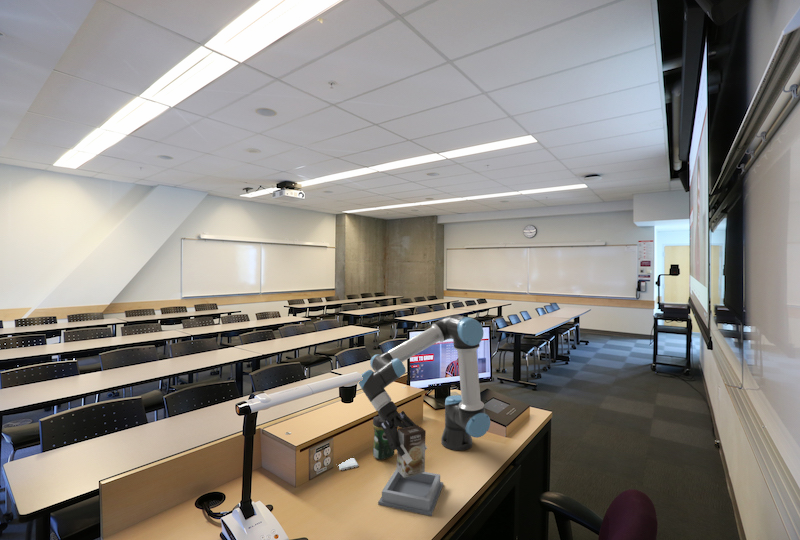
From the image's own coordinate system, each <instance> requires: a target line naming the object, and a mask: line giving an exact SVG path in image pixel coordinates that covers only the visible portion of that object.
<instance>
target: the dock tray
mask: <svg viewBox="0 0 800 540" xmlns="http://www.w3.org/2000/svg"><path fill="white" fill-rule="evenodd" d="M443 487H444V482H443V481H441V474H439V473H434V472H429V471H425V472H423V473H420V474H416V475H412V476H409V477H403V476H402V475H401V474H400V473H399V472H398V471H397V467H396V468H395V470H394V472H393V473H392V475H391V476H390V477H389V480H388V481H387V483H386V484H385V486H384V487H383V489H382V491H381V497H380V498H379V499H378V502H377V505H378V506H383V507H386V508H387V507H388V508H394V509H397V510H401V511H405V512H410V513H414V514H419V515H423V516H428V517H432V515H433V513H434V511H435V508H436V505H437V502H438V499H439V497H440V495H441V492H442V489H443Z"/></svg>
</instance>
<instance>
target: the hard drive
mask: <svg viewBox="0 0 800 540" xmlns="http://www.w3.org/2000/svg"><path fill="white" fill-rule="evenodd" d="M338 466H339V468H338V469H339V471H340V470H342V471H346V470H349V469H350V468H351V469H354V467H355V468H358V466H359V464H358V462H357V460H356V458H355V457H354V458H350V459H348V460H346V461H345V462H342V463H341V464H339V465H338ZM338 466H337V467H338ZM345 469H346V470H345ZM351 469H350V470H351Z"/></svg>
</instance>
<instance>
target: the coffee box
mask: <svg viewBox="0 0 800 540" xmlns="http://www.w3.org/2000/svg"><path fill="white" fill-rule="evenodd" d="M397 431H398V436H399V440H400V446H401V445H402V444H403V446H404V448H405V449H406V451H407V452H408V454H409V455H410V457H411V458H412V461H411V462H410V463H409V464H406V462H405V461H404V459H403V457H402V456H400V454H399V453H398V451H397V450H396V468H397V471H398V472H399V473H400V474H401V475H402V476H403V477H409V476H412V475H416V474H420V473H423V472H426V466H425V465H426V450H425V445H426V429H424V428H423V427H421V426H419V425H418V424H416V425H415V426H410V427H404V428H402V427H398V428H397Z"/></svg>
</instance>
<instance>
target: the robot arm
mask: <svg viewBox="0 0 800 540" xmlns="http://www.w3.org/2000/svg"><path fill="white" fill-rule="evenodd" d="M483 338H484V329H483V325H482V324H481V322H479V321H478V320H477V319H475V318H473V317H470V316H463V315H459V314H450V315H447V316H445V317H443V318H441V319H439V320H437V321H435V322H434V323H432V324H431V327H429V328H428V329H425V330H424V331H421V332H420V333H419V334H416V335H415V336H413V337H411V338H410V339H408V340H406V341H404V342H402V343H401V344H399V345H397V346H395V347H393V348H392V349H389V350H388V351H386V352H384V353H382V354H380V353H378V354H374V355H373V356H372V357H371V358H370V362H369V363H370V368H372V369H368V370H366V371H364V372H363V373H361V374H360V375H362V377H363V380H362V381H360V382H359V383H358V385H359V387H360V388H361V390H362V391H363V393H364V395H365V396H366V397H367V399H368V401H369V402H370V404H371V405H372V407H373V409H375V411H377V414H378V416H380V418H381V419H382V420H385V421H384V422H383V423H382V424H381V427H382V429H383V430H384V432H385V435H386V438H387V440H388V443H389V446H390V448H391V449H393V450H394V451H395V450H396V452H397V451H398V453H399V454H400V456H402V457H403V459H404V461H405V462H406V464H409V463H410V462H411V461H412V458H411V457H410V455H409V454H408V452H407V451H406V449H405V448H404V446H403V444H402V445H401V446H400V440H399V436H398V428H404V427H410V426H415V425H417V424H416V423H415V422H414V421H413V420H412V419H411V418H410V417H409V416H408V415H407V414H406V412H405V411H404V410H402V411H401V412H399V411H398V407H397V405H396V404H395V402H394V401H393V400H392V398H391V396H390V395H389V393H388V392H387V391H386V389H385V388H387V386H390V385H391V384H392V383H394V382H395V381H397V380H398V379H400V378H401V377H402V376H403V375H405V374H406V372H407V371H406V367H405V365H404V364H403V362H405V361H407V360H408V359H410V358H412V357H413V356H416V355H417V354H419V353H421V352H422V351H425V350H426V349H428V348H430V347H431V346H433V345H435V344H436V343H439V342H441V343H443V342H444V341H446V340H447V341H448V340H452V341H453V348H454V349H455V350H456V351H457V358H458V359H457V360H458V361H457V362H458V374H459V383H460V384H459V385H460V395H458V394H457V395H455V394H453V395H448V396H447V397H446V398H445V402H444V429H443V431H442V435H441V438H440V439H441V440H440V441H441V445H442V447H445V448H446V449H449V450H453V451H467V450H469V449H470V448H472V446H473V438H482V437H483V436H484V435H486V434H487V432H488V431H489V429H490V426H491V419H490V416H489V414H487V413H486V410H485V403H484V402H483V401H481V389H480V379H479V378H480V377H479V363H478V352H477V351H478V349H479V347H480V344H481V342H482V339H483ZM373 370H374V371H373ZM392 444H393V445H392ZM427 449H428V446H427V445H426V444H425V451H426V450H427Z"/></svg>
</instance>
